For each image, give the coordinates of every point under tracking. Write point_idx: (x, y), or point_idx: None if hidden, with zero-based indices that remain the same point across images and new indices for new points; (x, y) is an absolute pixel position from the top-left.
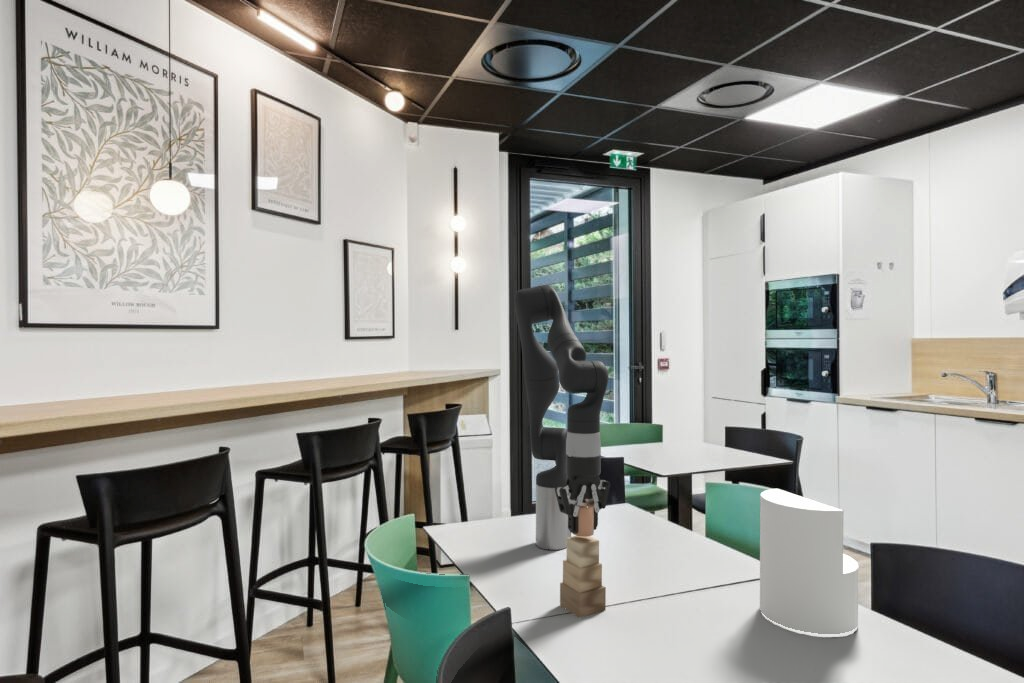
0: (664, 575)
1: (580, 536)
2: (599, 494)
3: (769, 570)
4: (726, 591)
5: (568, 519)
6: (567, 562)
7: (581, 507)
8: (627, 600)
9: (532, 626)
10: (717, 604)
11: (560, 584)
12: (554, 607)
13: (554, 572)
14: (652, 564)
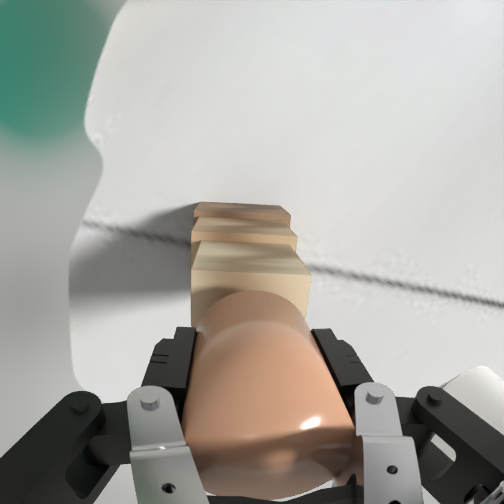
0: (481, 219)
1: (267, 291)
2: (456, 469)
3: (453, 454)
4: (478, 323)
5: (144, 381)
6: (191, 258)
7: (220, 482)
8: (349, 268)
9: (92, 255)
10: (435, 352)
11: (194, 211)
12: (181, 204)
13: (321, 40)
14: (499, 167)
